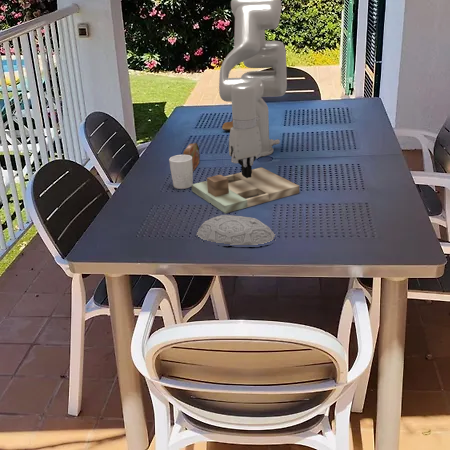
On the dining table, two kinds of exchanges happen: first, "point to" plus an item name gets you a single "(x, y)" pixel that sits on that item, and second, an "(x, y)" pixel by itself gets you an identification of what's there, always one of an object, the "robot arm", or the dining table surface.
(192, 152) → the tin
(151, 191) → the dining table surface
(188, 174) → the white cup
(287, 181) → the board
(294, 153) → the dining table surface
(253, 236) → the embossed grey dome
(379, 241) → the dining table surface
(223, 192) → the walnut block
